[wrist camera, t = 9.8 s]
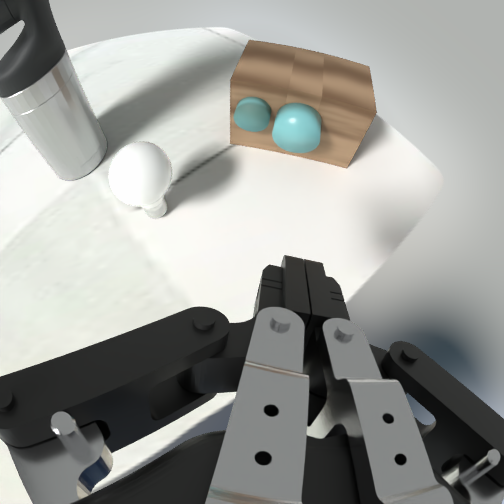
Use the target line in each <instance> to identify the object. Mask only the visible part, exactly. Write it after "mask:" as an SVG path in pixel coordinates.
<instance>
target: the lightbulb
mask: <svg viewBox="0 0 504 504" xmlns="http://www.w3.org/2000/svg"><path fill="white" fill-rule="evenodd" d="M108 177H109V184H110V187H111V189H112V191H113V193H114V194H115V196H116V197H117V198H118V199H119V200H121V201H122V202H124V203H126V204H128V205H131V206H141V207H142V208H144V210H145V212H146V214H147V215H148V216H149V217H151V218H159V217H161V216H163V215H164V214H165V213H166V211H167V203H166V201H165V198H164V194H165V193H166V191H167V190H168V188H169V186H170V183H171V179H172V165H171V162H170V159H169V157H168V156H167V154H166V153H165V152H164V150H163V149H161V148H160V147H159V146H157V145H155V144H153V143H150V142H144V141H140V142H134V143H131V144H128V145H126V146H125V147H123V148H122V149H121V150H119V151H118V152H117V154H116V155H115V156H114V158H113V159H112V162H111V164H110V167H109V174H108Z"/></svg>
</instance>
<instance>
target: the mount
mask: <svg viewBox="0 0 504 504" xmlns="http://www.w3.org/2000/svg"><path fill="white" fill-rule="evenodd" d="M289 103H303V104H306V105H309V106H311V107H313V108H314V109H315V110H316V111H317V112H318V113H319V114H320V116H321V135H320V143H319V145H318V146H317V148H315V149H314V150H312V151H310V152H307V153H293V152H289V151H286V150H284V149H282V148H280V147H279V146H278V145H277V144H276V143H275V142H274V140H273V137H272V132H273V127H274V123H275V118H276V114H277V111H278V110H279V109H280V108H281V107H282V106H284V105H286V104H289ZM376 113H377V112H376V105H375V98H374V91H373V86H372V79H371V74H370V68H369V66H365V65H363V64H359V63H356V62H353V61H349V60H346V59H342V58H339V57H335V56H331V55H328V54H324V53H319V52H315V51H311V50H306V49H302V48H296V47H292V46H286V45H280V44H275V43H268V42H261V41H254V40H249V41H248V43H247V45H246V47H245V49H244V52H243V54H242V56H241V58H240V60H239V62H238V64H237V66H236V69H235V71H234V73H233V75H232V77H231V80H230V144H236V145H242V146H248V147H254V148H259V149H264V150H270V151H275V152H280V153H284V154H289V155H294V156H298V157H303V158H307V159H312V160H316V161H320V162H324V163H328V164H332V165H336V166H340V167H344V168H347V167H348V165H349V163H350V162H351V160H352V158H353V156H354V154H355V152H356V151H357V149H358V147H359V145H360V143H361V141H362V139H363V137H364V136H365V134H366V132H367V130H368V128H369V126H370V124H371V122H372V120H373V119H374V117H375V115H376Z"/></svg>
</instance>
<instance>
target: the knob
mask: <svg viewBox="0 0 504 504" xmlns="http://www.w3.org/2000/svg"><path fill="white" fill-rule="evenodd" d="M320 135H321V116H320V114H319V113H318V112H317V111H316V110H315V109H314V108H313V107H311V106H309V105H306V104H303V103H289V104H286V105H284V106H282V107H281V108H280V109H279V110H278V111H277V114H276V118H275V123H274V127H273V132H272V137H273V140H274V142H275V143H276V144H277V145H278V146H279V147H280V148H282V149H284V150H286V151H289V152H293V153H307V152H310V151H312V150H314V149H315V148H317V146H318V145H319V143H320Z"/></svg>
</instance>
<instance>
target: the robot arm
mask: <svg viewBox="0 0 504 504" xmlns="http://www.w3.org/2000/svg"><path fill="white" fill-rule="evenodd" d="M20 20H23V21H24V23H25V26H24V28H23V30H22V32H21V34H20V35H19V37H18V39H17V40H16V42H15V43H14V44H13V46H12V47H11V48H10V49H9V51H8V52H7V53H6V54H5V55H4V57H3V58H2V59H1V60H0V98H1V99H2V101H3V103H4V104H5V106H6V107H7V109H8V110H9V112H10V113H11V114H12V116H13V117H14V119H15V120H16V121H17V123H18V124H19V126H20V127H21V129H22V130H23V131H24V133H25V134H26V136H27V137H28V138H29V140H30V141H31V142H32V144H33V145H34V146H35V148H36V149H37V150H38V152H39V153H40V154H41V156H42V157H43V158H44V159H45V161H46V162H47V163H48V165H49V166H50V167H51V169H52V170H53V171H54V172H55V173H56V175H57V176H58V177H59V178H61V179H63V180H68V181H71V180H76V179H79V178H81V177H83V176H85V175H87V174H88V173H90V172H91V171H92V170H93V169H95V168H96V167H97V166H98V164H99V163H100V162H101V161H102V159H103V157H104V155H105V153H106V150H107V140H106V138H105V136H104V134H103V132H102V129H101V127H100V125H99V123H98V121H97V119H96V116H95V114H94V112H93V110H92V108H91V106H90V104H89V101H88V99H87V97H86V95H85V92H84V90H83V88H82V86H81V83H80V81H79V79H78V76H77V74H76V72H75V69H74V67H73V65H72V62H71V60H70V58H69V55H68V53H67V50H66V48H65V45H64V43H63V40H62V39H61V36H60V33H59V31H58V28H57V26H56V23H55V20H54V18H53V15H52V11H51V8H50V4H49V0H0V34H1V33H3V32H4V31H5V30H7V29H8V28H10V27H11V26H13V25H14V24H16V23H17V22H19V21H20ZM224 392H237V393H236V397H235V401H234V404H233V408H232V412H231V415H230V419H229V423H228V426H227V430H223V431H215V432H210V433H205V434H202V435H199V436H196V437H194V438H191V439H189V440H187V441H185V442H183V443H182V444H180V445H178V446H177V447H175V448H173V449H172V450H171V451H169V452H167V453H166V454H164V455H162V456H161V457H159V458H157V459H156V460H154V461H152V462H151V463H149V464H147V465H146V466H144V467H142V468H140V469H138V470H137V471H135V472H133V473H132V474H130V475H128V476H126V477H124V478H122V479H120V480H118V481H116V482H115V483H113V484H111V485H109V486H107V487H105V488H103V489H101V490H99V491H97V492H95V493H92V494H91V492H92V489H93V488H94V486H95V485H96V484H97V483H98V482H99V481H101V480H102V479H104V478H105V477H106V476H107V475H108V474H109V473H110V471H111V469H112V465H113V457H112V454H111V453H113V452H115V451H117V450H119V449H121V448H123V447H125V446H127V445H129V444H132V443H134V442H136V441H138V440H139V439H141V438H143V437H145V436H147V435H149V434H151V433H153V432H155V431H157V430H159V429H160V428H162V427H164V426H166V425H168V424H170V423H171V422H173V421H175V420H177V419H179V418H180V417H182V416H184V415H186V414H187V413H189V412H191V411H192V410H194V409H196V408H198V407H199V406H201V405H203V404H204V403H206V402H208V401H209V400H211V399H212V398H214V396H215V395H216V394H217V393H224ZM407 393H409V394H410V395H411V396H412V397H413V398H415V400H417V401H418V402H419V403H420V404H421V405H422V406H424V407H425V408H426V409H427V410H428V411H429V412H430V413H431V414H433V415H434V417H435V419H436V421H435V422H434V423H433V424H432V425H424V424H422V423H421V422H419V421H418V420H417V419H416V418H415V417H414V416H413V413H412V411H411V408H410V406H409V403H408V401H407V398H406V394H407ZM0 438H1V440H2V441H3V442H4V443H5V444H6V445H7V446H8V449H9V451H10V454H11V456H12V459H13V461H14V464H15V466H16V469H17V471H18V473H19V476H20V478H21V480H22V482H23V485H24V487H25V489H26V491H27V493H28V495H29V497H30V499H31V501H32V503H33V504H501V503H502V501H503V499H504V419H503V418H502V417H501V416H500V415H498V414H497V413H496V412H495V411H494V410H493V409H491V408H490V407H489V406H488V405H487V404H485V403H484V402H483V401H482V400H481V399H479V398H478V397H477V396H476V395H475V394H474V393H472V392H471V391H470V390H469V389H467V388H466V387H465V386H464V385H463V384H462V383H460V382H459V381H458V380H457V379H456V378H454V377H453V376H452V375H451V374H449V373H448V372H447V371H445V370H444V369H443V368H442V367H441V366H440V365H438V364H437V363H436V362H435V361H433V360H432V359H431V358H430V357H429V356H427V355H426V354H425V353H423V352H422V351H421V350H420V349H418V348H417V347H416V346H414V345H412V344H410V343H407V342H403V341H398V342H394V343H393V344H392V345H391V346H390V348H389V350H388V351H386V350H383V349H381V348H378V347H375V346H373V345H370V344H369V343H368V341H367V338H366V336H365V334H364V332H363V330H362V329H361V328H360V327H359V326H358V325H356V324H355V323H353V322H351V321H350V318H349V315H348V311H347V308H346V304H345V302H344V298H343V295H342V291H341V288H340V285H339V284H338V283H337V282H336V281H335V280H334V279H333V278H332V277H327V276H326V275H325V271H324V267H323V263H320V262H315V261H311V260H306V259H304V260H303V259H301V258H296V257H292V256H287V255H284V257H283V260H282V264H281V267H278V266H274V265H268V266H267V267H266V268H265V269H264V270H263V272H262V276H261V280H260V284H259V289H258V293H257V297H256V301H255V307H254V314H253V318H252V319H250V320H248V321H246V322H241V323H229V321H228V319H227V318H226V316H225V315H224V314H222V313H221V312H219V311H217V310H215V309H212V308H208V307H192V308H189V309H186V310H184V311H181V312H178V313H176V314H173V315H171V316H168V317H166V318H163V319H160V320H158V321H155V322H153V323H150V324H147V325H145V326H142V327H140V328H137V329H134V330H132V331H129V332H126V333H124V334H121V335H118V336H116V337H113V338H110V339H108V340H105V341H102V342H99V343H97V344H94V345H91V346H88V347H86V348H83V349H80V350H77V351H74V352H72V353H69V354H66V355H63V356H60V357H57V358H55V359H52V360H49V361H46V362H43V363H40V364H37V365H34V366H31V367H28V368H25V369H22V370H19V371H16V372H13V373H10V374H7V375H4V376H1V377H0Z"/></svg>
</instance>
